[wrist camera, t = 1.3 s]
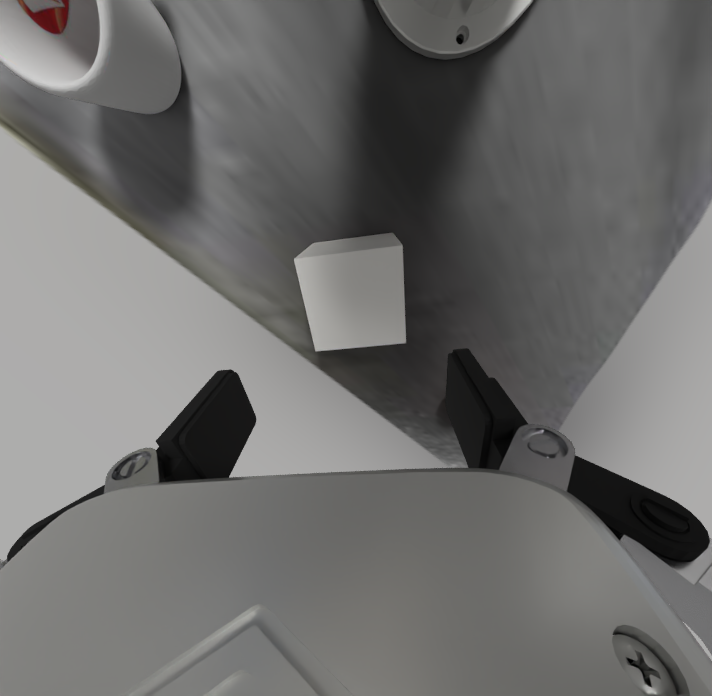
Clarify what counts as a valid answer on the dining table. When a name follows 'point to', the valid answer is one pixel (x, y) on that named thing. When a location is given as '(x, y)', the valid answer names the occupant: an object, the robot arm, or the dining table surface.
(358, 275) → the white cube
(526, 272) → the dining table surface
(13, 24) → the cup
